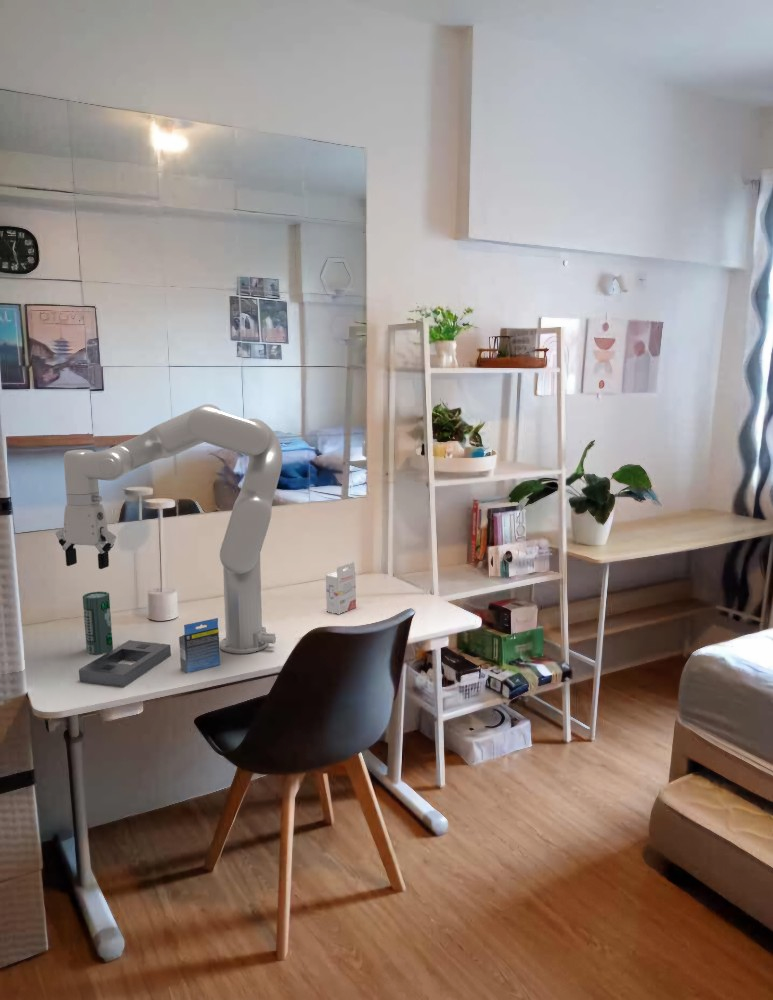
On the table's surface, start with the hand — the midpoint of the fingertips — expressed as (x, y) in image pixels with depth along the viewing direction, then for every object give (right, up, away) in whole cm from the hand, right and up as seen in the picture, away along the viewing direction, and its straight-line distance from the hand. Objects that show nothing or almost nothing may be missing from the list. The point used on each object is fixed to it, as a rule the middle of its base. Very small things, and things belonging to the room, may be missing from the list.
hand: (87, 566), depth 191 cm
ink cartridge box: (+62, -17, +38) cm, 75 cm away
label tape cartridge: (+30, -25, -5) cm, 39 cm away
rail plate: (+12, -25, -6) cm, 28 cm away
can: (+1, -23, +6) cm, 24 cm away
